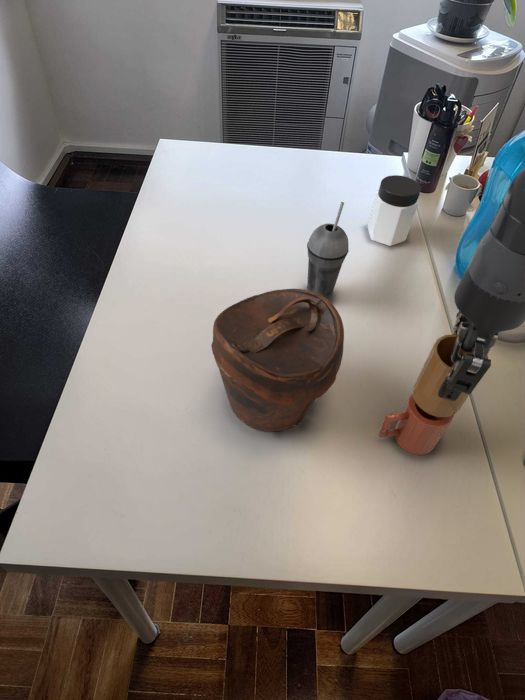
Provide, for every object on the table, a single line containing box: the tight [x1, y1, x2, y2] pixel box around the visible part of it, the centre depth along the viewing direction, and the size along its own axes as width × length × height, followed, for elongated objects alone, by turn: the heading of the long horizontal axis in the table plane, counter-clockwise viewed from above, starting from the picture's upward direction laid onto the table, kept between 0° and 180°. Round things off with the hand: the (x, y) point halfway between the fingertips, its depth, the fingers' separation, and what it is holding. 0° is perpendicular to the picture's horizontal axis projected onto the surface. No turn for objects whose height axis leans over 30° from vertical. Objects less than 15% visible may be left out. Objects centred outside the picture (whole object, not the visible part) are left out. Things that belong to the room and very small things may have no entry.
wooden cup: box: [412, 333, 489, 417], centre depth 60 cm, size 6×6×9 cm
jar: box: [367, 174, 422, 247], centre depth 100 cm, size 9×8×12 cm
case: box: [210, 288, 345, 432], centre depth 68 cm, size 18×20×18 cm
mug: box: [377, 392, 455, 456], centre depth 68 cm, size 9×6×8 cm, turn 99°
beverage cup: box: [306, 201, 349, 301], centre depth 83 cm, size 7×7×20 cm
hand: (449, 375), depth 59 cm, fingers closed on wooden cup, 6 cm apart
